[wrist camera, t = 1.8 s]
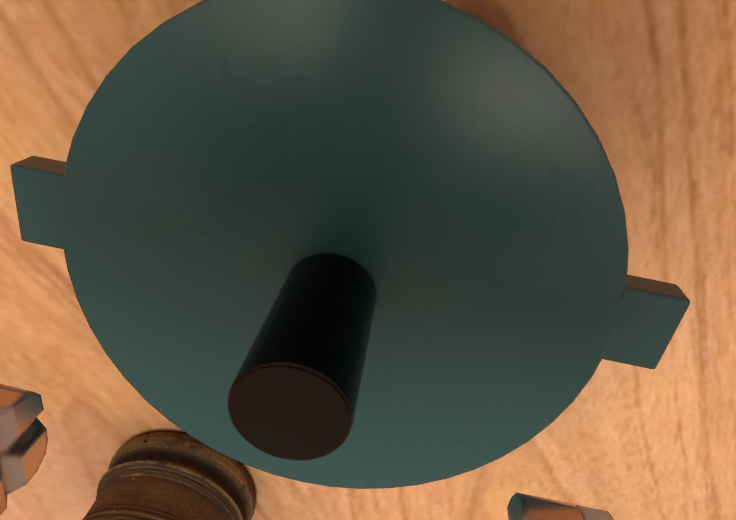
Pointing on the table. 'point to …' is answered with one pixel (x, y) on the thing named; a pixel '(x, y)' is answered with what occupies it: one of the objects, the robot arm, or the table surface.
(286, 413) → the lid
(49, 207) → the pot
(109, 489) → the container
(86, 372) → the table surface
